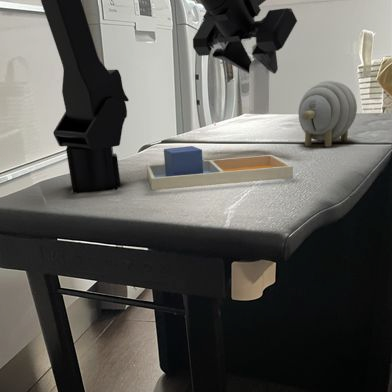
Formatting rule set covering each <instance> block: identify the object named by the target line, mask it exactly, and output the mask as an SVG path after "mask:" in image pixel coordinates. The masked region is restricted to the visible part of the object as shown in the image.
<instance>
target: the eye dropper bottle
mask: <svg viewBox="0 0 392 392" xmlns="http://www.w3.org/2000/svg"><path fill="white" fill-rule="evenodd" d="M256 45H257V44H256V43H255V44H254V45H253V46H252V47H251V48H252V49H251V50H252V51H251V53H252V52H253V51H254V49H255V47H256ZM251 56H252V60H251V64H250V68H249V73H248V74H249V75H248V77H249V78H248V79H249V80H248V84H249V87H248V89H249V92H248V93H249V94H248V95H249V96H248V97H249V98H248V101H249V102H248V103H249V105H248V108H249V109H248V111H249V114H251V115H265V114H268V113H269V111H270V71H269V70H268V69H267V68H266V67H265V66H264V65H263V64H262V63H261V62H259V61H258V60H257V59H256V58H255V57H254V56H253V55H252V54H251Z"/></svg>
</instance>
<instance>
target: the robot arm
mask: <svg viewBox="0 0 392 392" xmlns="http://www.w3.org/2000/svg"><path fill="white" fill-rule="evenodd" d="M266 1H267V0H199V2H200V4H201V5H202V6H203V9H204V10H205V12H204V14H203V16H202V17H203V21H202V23H201V25H200V26H199V28H198V29H197V31H196V33H195V35H194V36H193V38H192V49H193V50H194V51H195V53H196V54H197V55H198V57H203V56H204V57H205V56H210V54H211V53H212V57H213V58H214V59H219V60H220V61H222V62H225V63H227V64H230V65H231V66H233V67H235V68H238V69H239V70H241V71H243V72H246V74H249V68H250V64H251V62H252V60H251V58H250V56H249V54H248V52H247V50H246V48H245V46H244V44H243V43H242V42H243V41H244V42H245V41H250V40H252V38H253V39H254V40H255V44H257V45H256V47H255V49H254V51H253V52H252V51H251V56H252V55H253V56H254V57H255V58H256V59H257V60H258V61H259V62H261V63H262V64H263V65H264V66H265V67H266V68H267V69H268V70H269V73H272V74H273V75H274V74H277V72H278V70H279V69H278V68H279V66H278V60H277V59H278V58H277V52H278V51H280V50H281V49H283V47H284V45H285V43H286V42H287V40H288V39H289V36H290V35H291V33H292V32H293V30H294V28H295V26H296V24H297V23H298V19H297V17H296V15H295V13H294V11H293V8H291V7H289V8H287V7H284V8H278V9H277V8H276V9H269V10H268V11H267V13H266V14H265V16H264V17H263V18H262V19H261V20H255V17H258V16H259V15H260V12H261V11H262V9H261V8H260V6H261V5H262V4H263V3H265V2H266ZM40 3H41V5H42V8H43V11H44V14H45V18H46V20H47V23H48V26H49V29H50V32H51V36H52V38H53V41H54V44H55V47H56V50H57V53H58V55H59V58H60V63H61V64H62V69H63V74H62V89H61V93H62V94H61V95H62V98H63V102H64V104H63V105H64V108H65V109H64V110H65V111H64V113H63V115H62V117H61V118H60V120H59V122H58V123H57V125H56V127H55V128H54V130H53V137H54V138H55V140H56V142H57V145H58V146H59V147H62V148H63V147H66V149H65V152H66V159H67V164H68V171H69V176H70V177H69V178H70V182H71V192H70V193H71V194H72V195H73V194H84V193H85V194H86V193H98V192H111V191H117V190H118V187H120V186H121V178H120V177H121V175H120V170H119V160H118V155H117V153H113V147H119V146H120V145H121V139H122V133H123V128H124V123H125V120H126V118H128V109H127V104H126V102H129V98H128V96H127V95H126V92H125V91H124V86H123V81H122V75H121V73H120V70H119V69H107V68H106V66H105V65H104V64H103V62H102V60H101V59H100V56H99V54H98V50H97V48H96V44H95V41H94V38H93V34H92V31H91V27H90V24H89V21H88V17H87V14H86V11H85V7H84V4H83V2H82V0H40ZM212 50H213V52H212Z"/></svg>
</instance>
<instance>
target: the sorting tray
mask: <svg viewBox="0 0 392 392" xmlns="http://www.w3.org/2000/svg"><path fill="white" fill-rule="evenodd" d="M145 168H146V169H145V170H146V177H147V180H148V182H149V184H150V188H151V190H152V191H157V190H170V189H179V188H191V187H203V186H212V185H213V186H214V185H225V184H238V183H247V182H259V181H270V180H271V181H272V180H281V179H282V180H283V179H292V178H293V177H294V175H293V174H294V166H293V165H291V164H290V163H287V162H286V161H284V160H282V159H281V158H278V157H277V156H275V155H273V154H265V155H253V156H241V157H231V158H219V159H206V160H205V159H204V160H203V174H191V175H180V176H168V177H166V172H165V163H159V164H146V165H145Z"/></svg>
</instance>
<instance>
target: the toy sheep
mask: <svg viewBox="0 0 392 392" xmlns="http://www.w3.org/2000/svg"><path fill="white" fill-rule="evenodd" d="M357 111H358V104H357V99H356V97H355V94H354V92H353V91H352V90H351V89H350V87H349V86H347V85H346V84H344V83H342V82H339V81H335V80H324V81H321V82H319V83H317V84H315V85H314V86H312V87H310V88H309V89H308V90H307V91H306V92H305V93H304V94H303V96H302V97H301V100H300V102H299V105H298V122H299V125H300V127H301V129H302V131H303V132H304V134H305V135H304V145H305V147H311V145H312V144H313V143H312V141H313V140H314V141H318V142H324V146H325V147H326V148H330V147H331V146H332V141H335V140H337V139H339V138H340V141H342V142H347V141H348V138H349V137H348V134H349V129H350V128H351V126H352V125H353V123H354V122H355V120H356V116H357Z"/></svg>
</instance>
